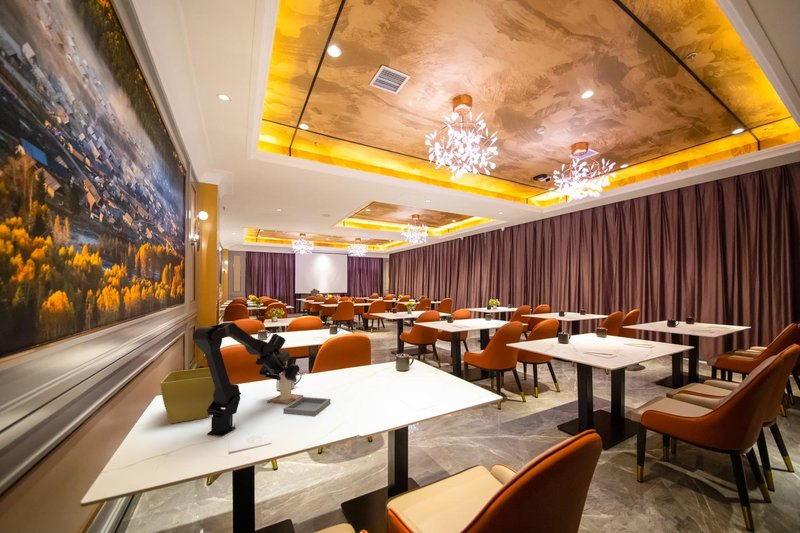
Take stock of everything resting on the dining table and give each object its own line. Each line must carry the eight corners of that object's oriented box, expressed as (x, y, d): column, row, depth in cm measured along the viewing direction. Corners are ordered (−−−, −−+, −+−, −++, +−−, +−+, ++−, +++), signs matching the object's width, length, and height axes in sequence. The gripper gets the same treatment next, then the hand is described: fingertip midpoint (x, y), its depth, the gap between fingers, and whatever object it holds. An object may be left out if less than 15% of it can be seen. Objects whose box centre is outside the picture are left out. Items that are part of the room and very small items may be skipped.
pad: (287, 405, 135) (287, 403, 135) (267, 402, 139) (267, 400, 139) (303, 397, 145) (303, 395, 145) (284, 394, 149) (284, 392, 149)
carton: (290, 399, 141) (291, 373, 141) (280, 400, 139) (280, 374, 140) (291, 395, 145) (291, 371, 146) (280, 396, 144) (281, 372, 144)
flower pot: (168, 411, 130) (170, 371, 132) (220, 403, 139) (221, 365, 140) (157, 429, 113) (159, 383, 115) (217, 419, 122) (218, 375, 123)
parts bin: (314, 417, 122) (314, 411, 122) (283, 414, 125) (283, 408, 126) (330, 404, 136) (330, 398, 136) (302, 402, 139) (302, 396, 139)
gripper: (297, 347, 137) (312, 366, 146) (264, 345, 143) (280, 363, 153) (284, 369, 129) (301, 388, 139) (250, 366, 136) (268, 384, 145)
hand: (288, 380), depth 144 cm, fingers open, 9 cm apart
